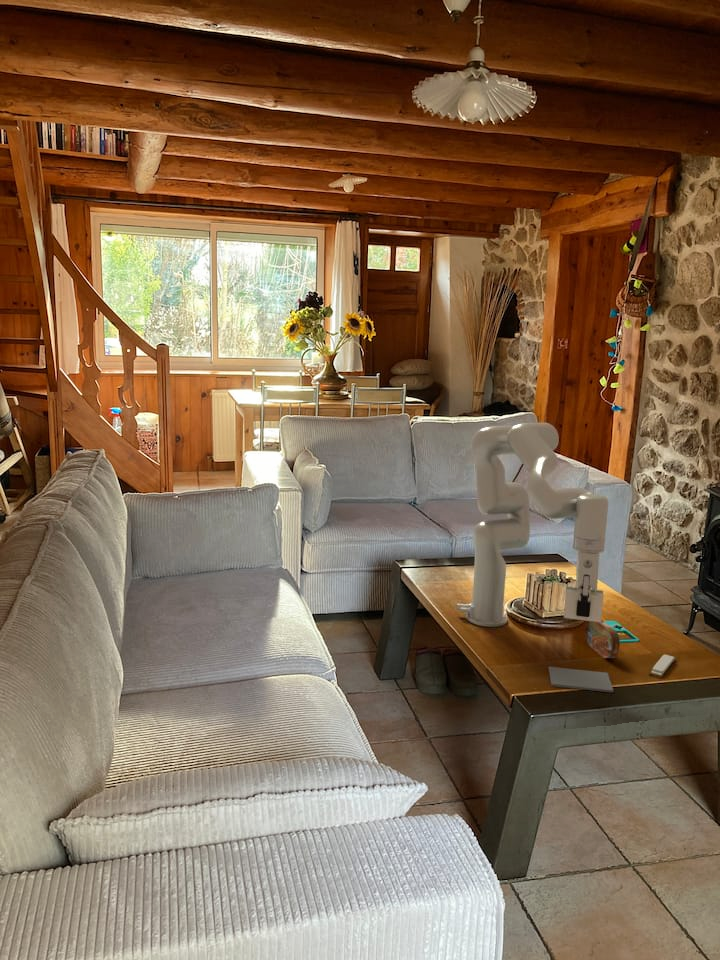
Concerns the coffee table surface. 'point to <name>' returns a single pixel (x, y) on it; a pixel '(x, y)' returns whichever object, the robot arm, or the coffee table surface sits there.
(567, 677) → the mat
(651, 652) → the coffee table surface
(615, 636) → the tin
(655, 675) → the harmonica
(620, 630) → the handheld gaming console
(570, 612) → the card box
